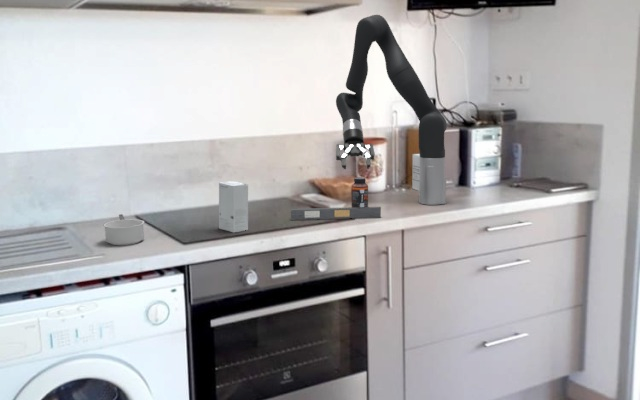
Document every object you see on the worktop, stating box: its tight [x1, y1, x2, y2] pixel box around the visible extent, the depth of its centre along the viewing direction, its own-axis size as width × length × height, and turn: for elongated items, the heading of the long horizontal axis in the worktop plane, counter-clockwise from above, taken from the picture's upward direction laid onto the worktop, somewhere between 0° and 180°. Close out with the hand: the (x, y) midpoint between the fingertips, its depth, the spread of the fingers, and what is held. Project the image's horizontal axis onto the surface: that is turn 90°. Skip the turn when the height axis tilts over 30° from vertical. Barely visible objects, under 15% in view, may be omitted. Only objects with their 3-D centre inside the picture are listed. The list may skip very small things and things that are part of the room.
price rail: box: [290, 206, 382, 221], centre depth 213 cm, size 30×2×4 cm, turn 94°
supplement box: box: [411, 153, 420, 192], centre depth 267 cm, size 9×9×15 cm
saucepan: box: [103, 213, 145, 246], centre depth 190 cm, size 12×20×6 cm, turn 21°
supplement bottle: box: [350, 177, 369, 207], centre depth 228 cm, size 6×6×11 cm
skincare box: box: [218, 180, 249, 234], centre depth 199 cm, size 8×6×15 cm
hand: (356, 167), depth 235 cm, fingers open, 8 cm apart
